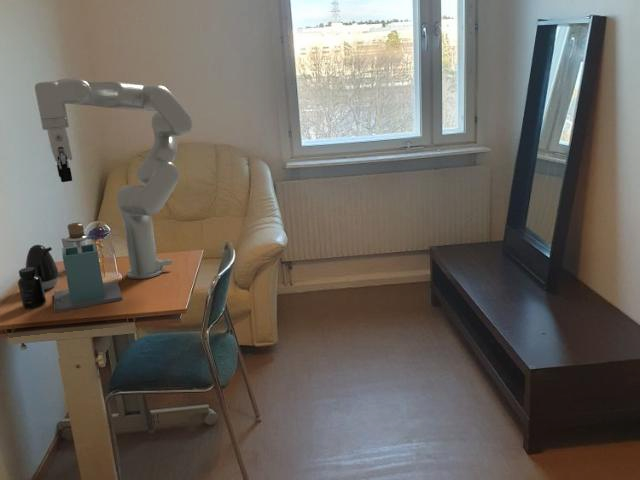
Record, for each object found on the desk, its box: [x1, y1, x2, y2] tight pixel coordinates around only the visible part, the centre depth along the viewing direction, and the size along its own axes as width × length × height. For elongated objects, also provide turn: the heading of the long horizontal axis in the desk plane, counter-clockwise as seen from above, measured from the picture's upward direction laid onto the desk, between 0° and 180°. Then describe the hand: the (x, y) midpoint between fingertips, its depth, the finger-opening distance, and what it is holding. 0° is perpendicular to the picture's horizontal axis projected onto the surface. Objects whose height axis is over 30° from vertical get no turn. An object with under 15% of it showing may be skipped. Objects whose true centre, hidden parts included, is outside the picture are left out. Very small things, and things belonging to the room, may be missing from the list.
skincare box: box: [61, 235, 84, 248], centre depth 236 cm, size 6×4×12 cm
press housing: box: [53, 242, 123, 314], centre depth 206 cm, size 20×17×16 cm
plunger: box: [66, 222, 89, 254], centre depth 204 cm, size 7×7×22 cm
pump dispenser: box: [25, 244, 60, 291], centre depth 218 cm, size 10×10×15 cm
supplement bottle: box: [17, 267, 47, 310], centre depth 203 cm, size 7×7×12 cm
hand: (65, 178), depth 201 cm, fingers open, 9 cm apart
